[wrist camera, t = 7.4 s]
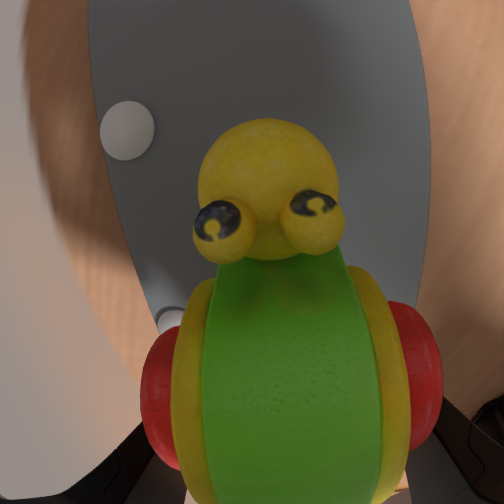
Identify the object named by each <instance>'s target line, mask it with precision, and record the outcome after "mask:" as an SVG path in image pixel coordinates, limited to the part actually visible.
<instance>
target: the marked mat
mask: <svg viewBox="0 0 504 504" xmlns="http://www.w3.org/2000/svg"><path fill="white" fill-rule="evenodd" d="M88 34H89V51H90V63H91V74H92V83H93V91H94V98H95V105H96V112H97V118H98V124H99V130H100V139H101V143H102V146H103V151H104V156H105V161H106V165H107V170H108V174H109V178H110V183H111V187H112V191H113V195H114V199H115V202H116V206H117V210H118V213H119V217H120V221H121V224H122V228H123V231H124V234H125V238H126V241H127V244H128V247H129V250H130V253H131V257H132V260H133V263H134V266H135V269H136V271H137V274H138V277H139V280H140V283H141V286H142V288H143V291H144V294H145V297H146V299H147V302H148V304H149V307H150V310H151V312H152V315H153V317H154V320H155V322H156V325H157V327H158V331H159V333H160V335H161V334H162V333H164V332H165V331H166V330H168V329H170V328H172V327H174V326H179V325H180V324H181V320H182V316H183V313H184V311H185V308H186V305H187V303H188V300H189V298H190V296H191V294H192V293H193V291H194V289H195V288H196V287H197V286H198V285H199V284H200V283H201V282H202V281H204V280H207V279H211V278H216V275H217V269H218V264H216V263H213V262H210V261H208V260H207V259H206V258H205V257H204V256H202V255H201V254H200V253H199V251H198V249H197V247H196V245H195V243H194V241H193V226H194V223H195V219H196V217H197V215H198V214H199V212H200V210H201V208H200V205H199V200H198V178H199V172H200V167H201V165H202V163H203V160H204V158H205V156H206V154H207V152H208V151H209V149H210V148H211V147H212V146H213V144H214V143H215V142H216V140H217V139H218V138H219V137H220V136H221V135H222V134H224V133H225V132H226V131H228V130H229V129H231V128H233V127H235V126H237V125H239V124H241V123H245V122H248V121H251V120H255V119H263V118H273V119H279V120H284V121H288V122H291V123H294V124H296V125H299V126H301V127H303V128H305V129H306V130H307V131H309V132H310V133H312V134H313V135H314V136H315V137H316V138H317V139H318V140H319V141H320V142H321V143H322V144H323V145H324V147H325V148H326V149H327V151H328V152H329V154H330V156H331V157H332V160H333V162H334V165H335V168H336V172H337V175H338V180H339V198H338V204H339V205H340V207H341V208H342V211H343V214H344V217H345V229H344V233H343V237H342V238H341V240H340V241H339V243H338V244H339V247H340V250H341V252H342V255H343V258H344V261H345V264H346V266H349V265H352V266H358V267H361V268H363V269H364V270H365V271H367V272H368V273H369V274H370V275H371V276H372V277H373V278H374V280H375V281H376V282H377V284H378V286H379V287H380V289H381V290H382V292H383V294H384V296H385V298H386V300H387V301H390V300H392V301H395V302H400V303H404V304H407V305H409V306H410V307H412V308H414V309H415V306H416V301H417V296H418V291H419V286H420V280H421V274H422V268H423V261H424V254H425V246H426V238H427V228H428V217H429V202H430V177H431V149H430V124H429V110H428V100H427V90H426V82H425V75H424V68H423V62H422V56H421V51H420V46H419V41H418V36H417V32H416V27H415V23H414V19H413V15H412V12H411V8H410V4H409V1H408V0H88Z"/></svg>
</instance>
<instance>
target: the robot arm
mask: <svg viewBox="0 0 504 504" xmlns="http://www.w3.org/2000/svg"><path fill="white" fill-rule="evenodd" d="M405 471H406V476H407V480H408V485H409V490H410V494H411V500H412V504H504V396H503V397H501V398H499V399H497V400H495V401H493V402H491V403H489V404H487V405H485V406H484V407H483V408H482V409H481V410H480V412H479V413H478V414H477V416H476V417H475V418H474V420H473V421H472V422H471V421H470V420H469V419H468V418H467V417H466V416H465V415H464V414H462V413H461V412H460V411H459V410H458V409H457V408H456V407H455V406H454V405H453V404H451V403H450V402H449V401H448V400H447V399H446V398H445V397H444V396H442V404H441V409H440V413H439V416H438V420H437V422H436V424H435V426H434V428H433V430H432V432H431V434H430V435H429V436H428V438H427V439H426V440H425V441H424V442H423V443H422V444H420V445H419V446H418V447H417V448H415V449H413V450H411V451H409V452H408V458H407V462H406V466H405ZM186 491H187V487H186V484H185V482H184V479H183V476H182V474H181V471H179V470H177V469H174V468H172V467H170V466H169V465H167V464H166V463H165V462H164V461H163V460H162V459H161V458H160V457H159V456H158V455H157V454H156V452H155V451H154V449H153V448H152V446H151V444H150V443H149V440H148V438H147V435H146V432H145V429H144V425H143V421H142V422H141V423H140V424H139V425H138V426H137V427H136V428H135V429H134V430H133V431H132V432H131V433H130V435H128V437H127V438H126V439H125V440H124V441H123V442H122V443H121V444H120V445H119V446H118V447H117V449H115V450H114V451H113V452H112V453H111V454H110V455H109V456H108V457H107V458H106V459H105V460H104V461H103V462H102V463H101V464H100V465H98V466H97V467H96V468H95V469H93V470H92V471H91V472H90V473H89V474H87V475H86V476H85V477H83V478H82V479H81V480H79V481H78V482H77V483H76V484H74V485H73V486H71V487H70V488H69V489H67V490H66V491H64V492H62V493H59V494H56V495H52V496H45V497H38V498H29V499H17V500H9V499H6V498H5V497H3V496H2V495H0V504H184V501H185V496H186Z"/></svg>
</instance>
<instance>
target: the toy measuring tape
mask: <svg viewBox="0 0 504 504" xmlns="http://www.w3.org/2000/svg"><path fill="white" fill-rule="evenodd" d="M338 198H339V180H338V175H337V172H336V168H335V165H334V162H333V160H332V157H331V156H330V154H329V152H328V151H327V149H326V148H325V147H324V145H323V144H322V143H321V142H320V141H319V140H318V139H317V138H316V137H315V136H314V135H313V134H312V133H310V132H309V131H307V130H306V129H305V128H303V127H301V126H299V125H296V124H294V123H291V122H288V121H284V120H279V119H273V118H263V119H255V120H251V121H248V122H245V123H241V124H239V125H237V126H235V127H233V128H231V129H229V130H228V131H226V132H225V133H224V134H222V135H221V136H220V137H219V138H218V139H217V140H216V142H215V143H214V144H213V146H212V147H211V148H210V149H209V151H208V152H207V154H206V156H205V158H204V160H203V163H202V165H201V167H200V172H199V178H198V200H199V205H200V208H201V210H200V212H199V214H198V215H197V217H196V219H195V223H194V226H193V241H194V243H195V245H196V247H197V249H198V251H199V253H200V254H201V255H202V256H204V257H205V258H206V259H207V260H208V261H210V262H213V263H216V264H218V269H217V275H216V278H211V279H207V280H204V281H202V282H201V283H200V284H199V285H198V286H197V287H196V288H195V289H194V291H193V293H192V294H191V296H190V298H189V300H188V303H187V305H186V308H185V311H184V313H183V316H182V320H181V324H180V325H179V326H174V327H172V328H170V329H168V330H166V331H165V332H164V333H162V334H161V335H160V336H159V337H158V338H157V339H156V341H155V342H154V344H153V346H152V347H151V349H150V351H149V353H148V355H147V358H146V361H145V364H144V367H143V372H142V378H141V388H140V402H141V403H140V410H141V416H142V421H143V425H144V429H145V432H146V435H147V438H148V440H149V443H150V444H151V446H152V448H153V449H154V451H155V452H156V454H157V455H158V456H159V457H160V458H161V459H162V460H163V461H164V462H165V463H166V464H167V465H169V466H170V467H172V468H174V469H177V470H179V471H181V474H182V476H183V479H184V482H185V484H186V487H187V489H188V490H189V492H190V494H191V495H192V497H193V498H194V500H195V501H196V502H197V503H198V504H380V503H382V502H384V501H385V500H386V499H388V498H389V497H390V495H391V494H392V493H393V492H394V491H395V489H396V487H397V486H398V484H399V482H400V480H401V477H402V475H403V472H404V469H405V466H406V462H407V458H408V452H409V451H411V450H413V449H415V448H417V447H418V446H419V445H420V444H422V443H423V442H424V441H425V440H426V439H427V438H428V436H429V435H430V434H431V432H432V430H433V428H434V426H435V424H436V422H437V420H438V416H439V413H440V409H441V404H442V396H443V373H442V363H441V358H440V354H439V349H438V347H437V344H436V342H435V339H434V337H433V334H432V332H431V329H430V328H429V326H428V325H427V323H426V321H425V320H424V318H423V317H422V316H421V315H420V314H419V313H418V312H417V311H416V310H415V309H414V308H412V307H410V306H409V305H407V304H404V303H400V302H395V301H392V300H390V301H387V300H386V298H385V296H384V294H383V292H382V290H381V289H380V287H379V286H378V284H377V282H376V281H375V280H374V278H373V277H372V276H371V275H370V274H369V273H368V272H367V271H365V270H364V269H363V268H361V267H358V266H352V265H349V266H346V264H345V261H344V258H343V255H342V252H341V250H340V247H339V244H338V243H339V241H340V240H341V238H342V237H343V233H344V229H345V217H344V214H343V211H342V208H341V207H340V205H339V204H338Z"/></svg>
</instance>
